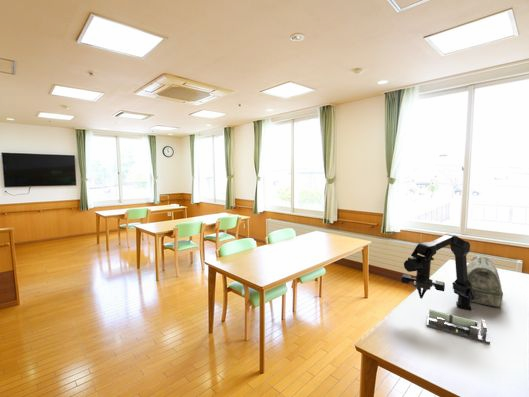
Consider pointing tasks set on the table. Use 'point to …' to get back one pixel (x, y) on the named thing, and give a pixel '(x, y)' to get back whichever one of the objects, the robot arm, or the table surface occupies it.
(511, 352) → the table surface
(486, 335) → the saddle plate
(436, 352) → the table surface
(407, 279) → the robot arm
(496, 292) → the lunch bag
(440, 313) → the tube
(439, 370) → the table surface
